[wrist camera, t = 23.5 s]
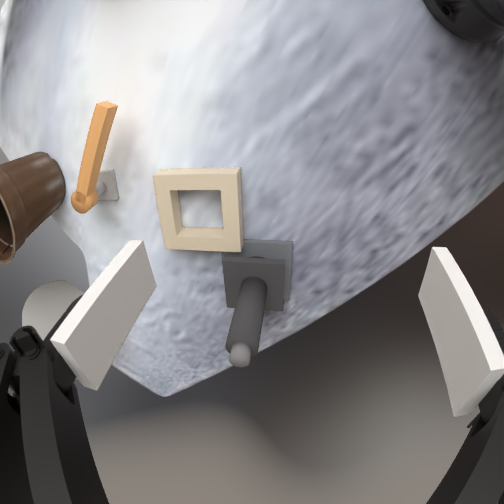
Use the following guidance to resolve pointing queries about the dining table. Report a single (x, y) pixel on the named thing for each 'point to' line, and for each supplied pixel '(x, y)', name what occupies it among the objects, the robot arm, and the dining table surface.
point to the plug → (250, 301)
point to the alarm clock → (48, 305)
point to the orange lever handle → (93, 157)
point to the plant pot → (27, 198)
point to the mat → (268, 255)
